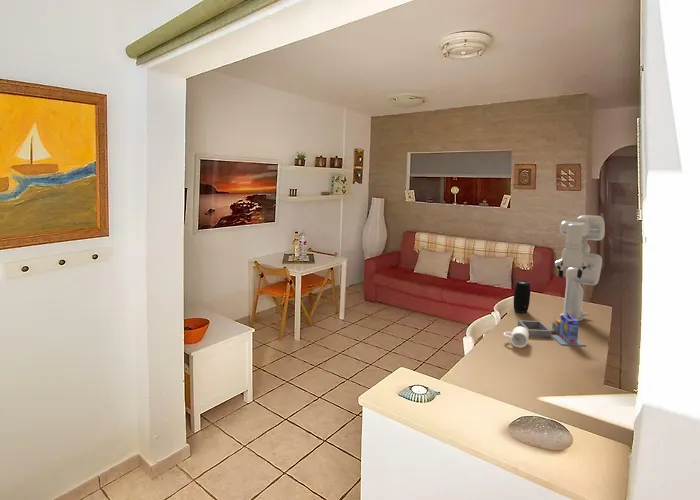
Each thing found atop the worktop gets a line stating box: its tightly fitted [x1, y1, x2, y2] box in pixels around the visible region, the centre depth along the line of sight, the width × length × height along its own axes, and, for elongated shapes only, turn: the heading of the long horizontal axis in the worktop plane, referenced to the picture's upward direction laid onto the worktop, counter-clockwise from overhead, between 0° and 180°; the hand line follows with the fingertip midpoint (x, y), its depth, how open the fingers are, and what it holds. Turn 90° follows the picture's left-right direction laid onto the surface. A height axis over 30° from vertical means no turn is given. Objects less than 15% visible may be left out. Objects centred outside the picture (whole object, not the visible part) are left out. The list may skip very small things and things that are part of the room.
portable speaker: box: [513, 279, 531, 314], centre depth 261 cm, size 9×9×20 cm
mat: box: [551, 334, 586, 347], centre depth 216 cm, size 12×12×1 cm
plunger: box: [554, 318, 561, 325], centre depth 227 cm, size 4×4×6 cm
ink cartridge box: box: [558, 313, 580, 344], centre depth 215 cm, size 10×6×14 cm, turn 175°
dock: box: [517, 320, 560, 338], centre depth 228 cm, size 23×15×5 cm, turn 86°
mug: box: [502, 326, 530, 349], centre depth 211 cm, size 12×10×8 cm
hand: (569, 277), depth 226 cm, fingers open, 9 cm apart
